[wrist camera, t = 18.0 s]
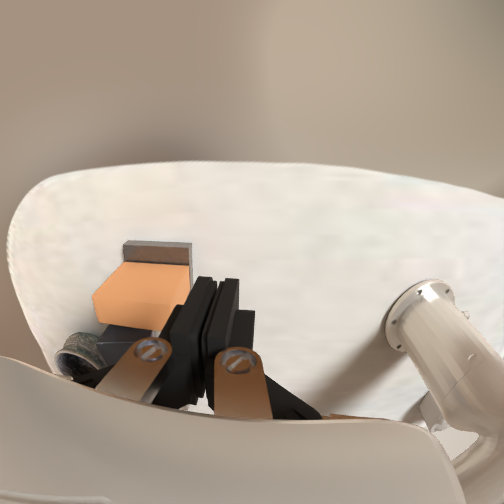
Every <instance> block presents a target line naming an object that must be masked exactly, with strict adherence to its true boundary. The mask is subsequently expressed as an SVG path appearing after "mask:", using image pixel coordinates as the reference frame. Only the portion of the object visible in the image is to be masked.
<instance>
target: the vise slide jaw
mask: <svg viewBox="0 0 504 504" xmlns="http://www.w3.org/2000/svg"><path fill="white" fill-rule="evenodd" d="M189 291H190V278H189V266H183V265H166V264H150V263H135V262H123V263H122V264H121V265H120V266H119V267H118V268H117V270H116V271H115V272H114V273H113V274H112V275H111V276H110V277H109V278H108V279H107V280H106V281H105V282H104V283H103V284H102V285H101V286H100V288H99V289H98V290H97V291H96V292H95V293H94V294H93V295H92V299H93V303H94V307H95V311H96V315H97V318H98V322H101V323H107V324H113V325H119V326H126V327H133V328H140V329H148V330H156V331H162V329H163V327H164V325H165V324H166V322H167V320H168V318H169V316H170V314H171V313H172V311H173V309H174V307H175V306H176V305H177V304H180V305H184V303H185V301H186V299H187V296H188V294H189Z"/></svg>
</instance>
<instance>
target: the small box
mask: <svg viewBox="0 0 504 504" xmlns="http://www.w3.org/2000/svg"><path fill="white" fill-rule="evenodd" d="M160 333H161V331H156V330H148V329H140V328H133V327H126V326H119V325H113V324H109V326H108V327H107V328H106V330H105V331H104V333H103V334H102V335H101V337H100V338H99V339H98V340H97V342H96V346H97V348H98V350H99V351H100V353H101V355H102V357H103V359H104V360H105V362H106V364H107V366H111V365H114V364H116V363H117V362H118V361H119V360H120V359H121V357H122V356H123V355H124V354H125V353H126V352H127V351H128V349H129V348H130V347H131V346H132V345H133V344H134V343H135V342H137V341H139V340H141V339H144V338H148V337H157V338H158V336H159V335H160Z"/></svg>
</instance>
